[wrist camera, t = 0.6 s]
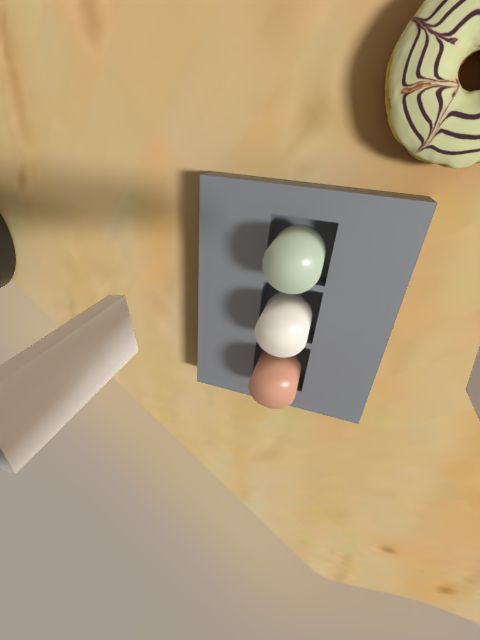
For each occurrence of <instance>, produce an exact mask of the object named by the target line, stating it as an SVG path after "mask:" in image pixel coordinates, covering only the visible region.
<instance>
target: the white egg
mask: <svg viewBox="0 0 480 640" xmlns="http://www.w3.org/2000/svg"><path fill="white" fill-rule="evenodd" d="M311 321H312V309H311V306H310V304H309V303H308V301H307V300H306V299H305V298H304V297H302V296H301V295H299V294H286V293H283V292H281V293H278V294H276V295H274V296H273V297H271V298H270V299H269V301H268V302H267V304H266V306H265V308H264V310H263V312H262V314H261V316H260V318H259V320H258V321H257V323H256V326H255V338H256V341H257V343H258V344H259V346H260V347H261V348H262V349H263V350H264V351H266V352H267V353H269V354H271V355H273V356H276V357H283V358H284V357H291V356H294V355H296V354H298V353H300V352H301V351H302V350H303V349H304V347H305V345H306V342H307V339H308V334H309V330H310V325H311Z"/></svg>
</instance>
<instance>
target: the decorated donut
mask: <svg viewBox="0 0 480 640" xmlns="http://www.w3.org/2000/svg"><path fill="white" fill-rule="evenodd" d="M478 51H480V0H425V1H424V2H423V3H422V5H421V6H420V7H419V8H418V10H417V11H416V13H415V14H414V16H412V18H411V20H410V21H409V23H408V24H407V26H406V28H405V29H404V31H403V33H402V34H401V36H400V38H399V39H398V41H397V43H396V45H395V48H394V50H393V52H392V54H391V57H390V60H389V63H388V66H387V72H386V81H385V92H386V95H385V104H386V113H387V117H388V118H387V119H388V124H389V126H390V128H391V131H392V133H393V135H394V137H395V139H396V140H397V141H398V142H399V143H400V144H402V145H403V146H405V147H406V150H407V151H408V153H409V154H411V155H412V156H413V157H415V158H416V159H418V160H420V161H423V162H430V163H435V164H439V165H441V166H443V167H450V168H466V167H468V166H470V165H472V164H474V163H480V90H475V91H470V92H469V91H466V90H464V89H463V88H462V87H461V85H460V83H459V79H458V71H459V68H460V66H461V64H463V63H464V61H465V60H466V59H467V58H468V57H470V56H471V55H473V54H474V53H475V52H478Z"/></svg>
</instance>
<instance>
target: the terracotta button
mask: <svg viewBox="0 0 480 640" xmlns="http://www.w3.org/2000/svg"><path fill="white" fill-rule="evenodd" d="M300 373H301V362H300V360H299V358H298V357H297V355H294V356H291V357H284V358H283V357H276V356H273V355H271V354H269V353H267V352H266V351H263V352H262V353H261V355H260V357H259V359H258V362H257V364H256V366H255V369H254V371H253V373H252V376H251V378H250V380H249V384H248V387H249V392H250V394H251V396H252V397H253V398H254V399H255V400H256V401H257V402H258V403H259V404H261V405H263V406H265V407H268V408H273V409H280V408H284V407H287V406H289V405H290V404H291V403H292V402H293V401H294V399H295V395H296V391H297V386H298V382H299V377H300Z"/></svg>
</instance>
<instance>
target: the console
mask: <svg viewBox="0 0 480 640" xmlns="http://www.w3.org/2000/svg"><path fill="white" fill-rule="evenodd" d="M436 206H437V202H436V201H434V200H433V199H432V198H430V197H428V196H419V195H411V194H402V193H394V192H385V191H376V190H368V189H359V188H351V187H342V186H333V185H325V184H316V183H308V182H299V181H290V180H282V179H273V178H265V177H256V176H247V175H239V174H230V173H222V172H208V173H204V174H200V194H199V277H198V361H197V381H198V382H202V383H206V384H210V385H213V386H217V387H221V388H225V389H229V390H232V391H236V392H240V393H244V394H247V395H251V394H250V392H249V387H248V384H249V380H250V378H251V376H252V373H253V371H254V369H255V366H256V364H257V362H258V359H259V357H260V355H261V353H262V352H263V351H264V350H263V349H262V348H261V347H260V346H259V344H258V343H257V341H256V338H255V326H256V323H257V321H258V320H259V318H260V316H261V314H262V312H263V310H264V308H265V306H266V304H267V302H268V301H269V299H270V298H271V297H273V296H274V295H276V294H278V293H281V292H280V291H278V290H276V289H275V288H273V287H272V286H271V285H270V284H269V283H268V281H267V280H266V278H265V276H264V273H263V269H262V261H263V257H264V254H265V252H266V250H267V249H268V247H269V246H270V245H271V243H272V242H273V241H274V239H275V238H276V237H277V236H278V234H279V233H280V232H281V231H282V230H284V229H285V228H287V227H289V226H292V225H297V224H301V225H307V226H310V227H312V228H314V229H315V230H317V231H318V232H319V233H320V235H321V236H322V238H323V240H324V242H325V246H326V254H325V259H324V263H323V268H322V272H321V275H320V278H319V280H318V281H317V283H316V284H315V285H314V286H313V287H312V288H311V289H309V290H307V291H306V292H303V293H299V295H301V296H302V297H304V298H305V299H306V300H307V301H308V303H309V304H310V306H311V309H312V321H311V325H310V330H309V334H308V339H307V342H306V345H305V347H304V349H303V350H302V351H301V352H300V353H298V354H296V355H297V357H298V358H299V360H300V362H301V373H300V377H299V382H298V386H297V391H296V395H295V399H294V401H293V402H292V403H291V404H290V405H289V406H293V407H297V408H300V409H304V410H308V411H312V412H316V413H319V414H323V415H327V416H331V417H335V418H338V419H342V420H346V421H350V422H354V423H357V424H358V423H359V420H360V418H361V415H362V412H363V409H364V407H365V404H366V401H367V398H368V395H369V393H370V390H371V387H372V384H373V381H374V379H375V376H376V373H377V370H378V367H379V365H380V362H381V359H382V356H383V354H384V351H385V348H386V345H387V342H388V340H389V337H390V334H391V331H392V328H393V326H394V323H395V320H396V317H397V314H398V312H399V309H400V306H401V303H402V300H403V298H404V295H405V292H406V289H407V287H408V284H409V281H410V278H411V275H412V273H413V270H414V267H415V264H416V261H417V259H418V256H419V253H420V250H421V247H422V245H423V242H424V239H425V236H426V234H427V231H428V228H429V225H430V222H431V220H432V217H433V214H434V211H435V208H436Z"/></svg>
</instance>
